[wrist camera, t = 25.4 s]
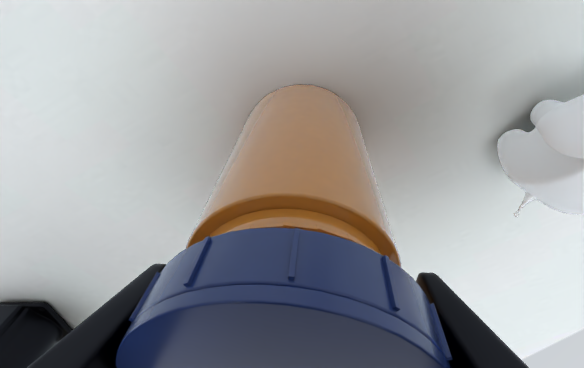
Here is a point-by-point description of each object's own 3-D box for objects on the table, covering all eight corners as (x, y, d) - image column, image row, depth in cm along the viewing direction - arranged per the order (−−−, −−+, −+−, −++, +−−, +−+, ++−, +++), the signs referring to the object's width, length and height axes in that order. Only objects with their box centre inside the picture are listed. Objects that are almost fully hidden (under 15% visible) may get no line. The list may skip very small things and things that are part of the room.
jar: (363, 183, 19) (410, 383, 10) (259, 194, 20) (209, 386, 11) (357, 74, 16) (424, 222, 6) (230, 94, 17) (116, 248, 7)
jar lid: (428, 393, 9) (447, 469, 8) (210, 391, 11) (192, 455, 9) (441, 208, 5) (482, 288, 4) (99, 242, 7) (39, 311, 5)
